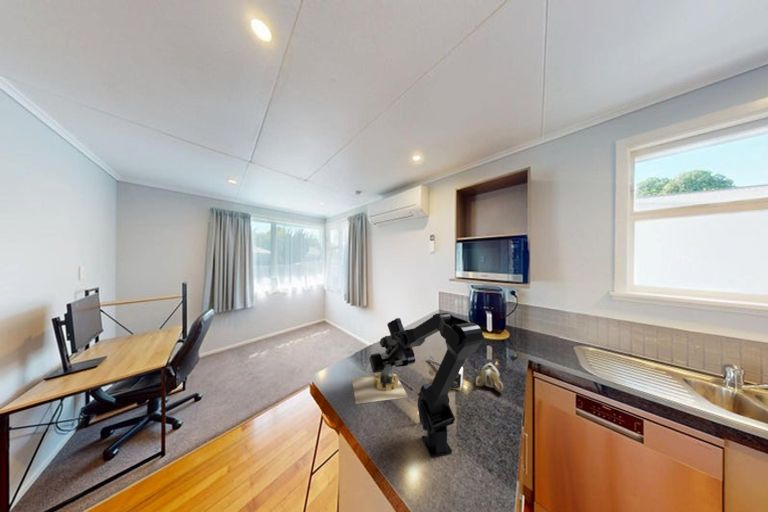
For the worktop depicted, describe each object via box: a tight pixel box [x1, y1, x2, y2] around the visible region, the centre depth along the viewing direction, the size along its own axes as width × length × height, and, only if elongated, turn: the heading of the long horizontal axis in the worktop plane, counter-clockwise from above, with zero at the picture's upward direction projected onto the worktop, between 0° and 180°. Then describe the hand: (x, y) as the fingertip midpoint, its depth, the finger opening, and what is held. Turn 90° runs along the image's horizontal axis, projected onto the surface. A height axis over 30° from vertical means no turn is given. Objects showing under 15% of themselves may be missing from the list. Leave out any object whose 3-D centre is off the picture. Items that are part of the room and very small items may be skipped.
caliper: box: [426, 358, 441, 367], centre depth 104 cm, size 21×1×6 cm, turn 20°
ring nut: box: [373, 372, 399, 391], centre depth 88 cm, size 10×10×2 cm
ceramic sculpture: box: [475, 361, 505, 394], centre depth 92 cm, size 11×9×15 cm
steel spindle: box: [379, 351, 393, 387], centre depth 88 cm, size 5×5×12 cm
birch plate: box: [351, 373, 409, 405], centre depth 86 cm, size 17×20×1 cm
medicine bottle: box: [451, 366, 464, 391], centre depth 91 cm, size 7×7×12 cm
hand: (385, 367), depth 88 cm, fingers open, 9 cm apart
